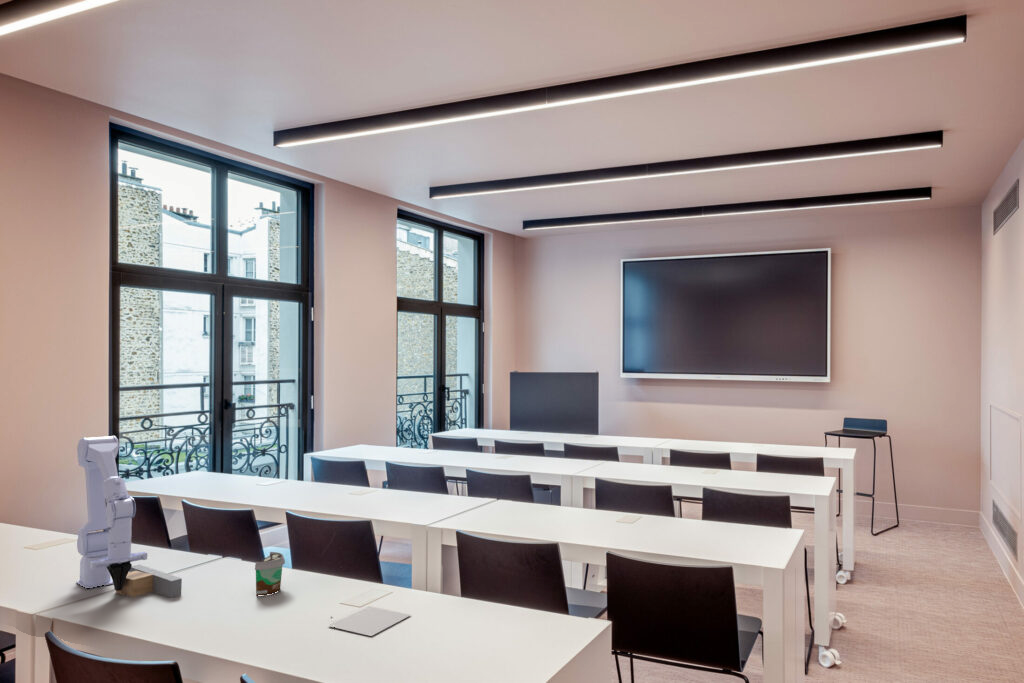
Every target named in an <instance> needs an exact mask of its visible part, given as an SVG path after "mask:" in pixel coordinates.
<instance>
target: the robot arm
mask: <svg viewBox="0 0 1024 683" xmlns="http://www.w3.org/2000/svg"><path fill="white" fill-rule="evenodd" d="M119 446H120V443H119V439H118V438H117V436H116V435H110V436H109V435H108V436H93V437H91V436H90V437H81V438H80V439H79V441H78V444H77V448H76V449H77V462H78V466H80V467H82V468H84V473H85V487H86V488H85V491H86V507H87V509H86V510H87V523H85V524H84V525H82V527H80V528H79V530H78V531H77V542H76V548H77V553H78V554H80V556H82V557H81V559H80V561H79V562H80V563H79V580H76V581H75V583H76V584H77V583H78V584H77V585H79V584H80V585H79V586H81V587H82V586H83V587H82V588H84V587H85V588H84V589H86V588H90V589H94V588H93V587H95V588H98V587H97V586H100V587H103V586H102V585H104V586H109V585H113V587H114V590H115V592H116V591H119V590H122V588H123V585H124V581H125V579H126V576H127V574H128V573H129V571H130V569H131V567H132V566H133V564H132V562H138V561H145V560H148V552H147V551H140V552H133V553H132V526H133V524H132V523H133V520H132V519H133V518H135V516H136V513H137V507H136V506H137V505H136V501H135V498H134V497H132V494H129V492H128V489H127V486H126V483H125V480H124V479H123V477H120V476H119V474H118V473H119V472H118V467H117V463H116V458H117V455H118V452H119V449H120V448H119ZM95 531H96V532H95Z"/></svg>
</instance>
